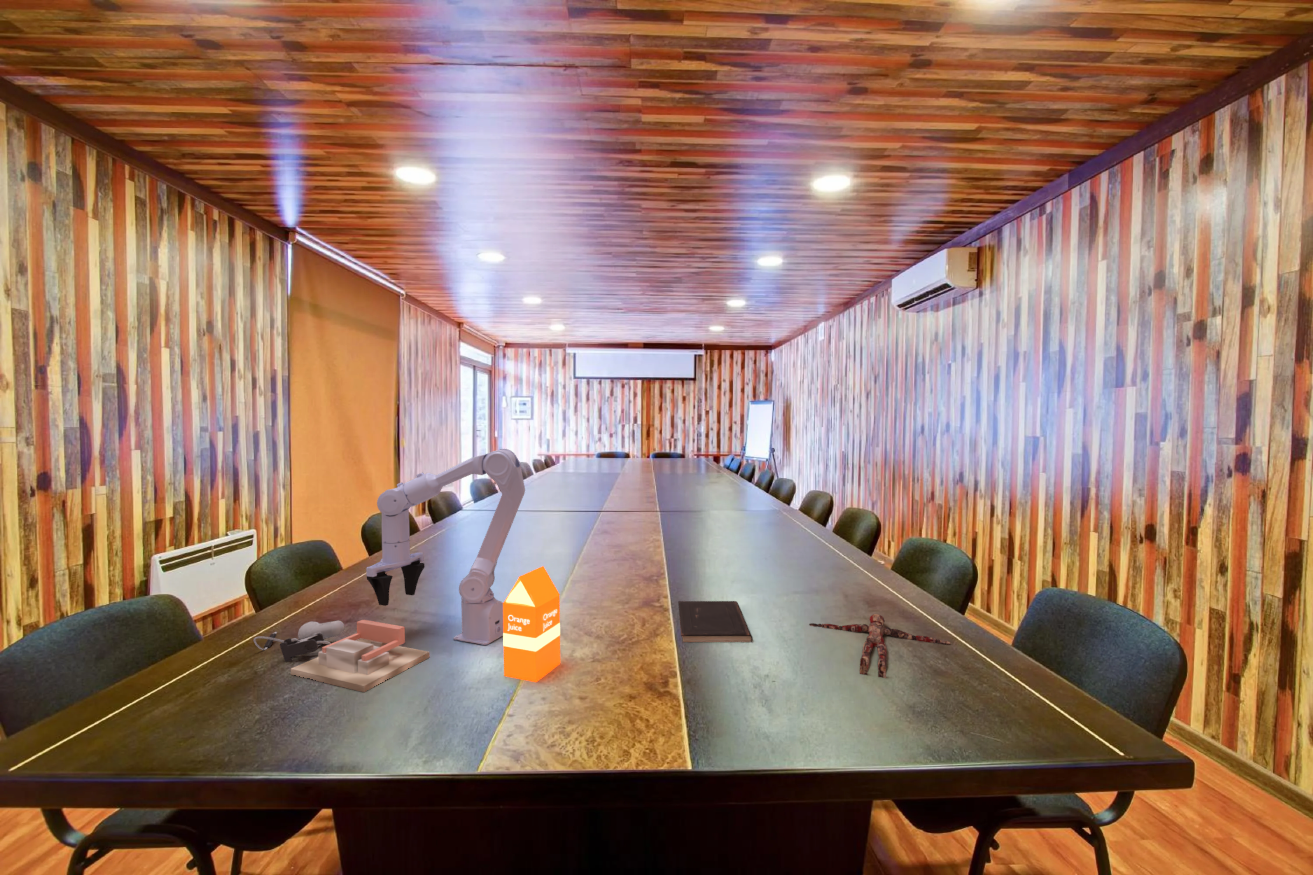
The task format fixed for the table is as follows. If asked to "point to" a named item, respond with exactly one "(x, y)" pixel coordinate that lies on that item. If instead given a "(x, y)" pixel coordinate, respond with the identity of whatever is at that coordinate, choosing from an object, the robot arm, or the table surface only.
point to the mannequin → (877, 640)
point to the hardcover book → (712, 622)
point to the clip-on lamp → (306, 638)
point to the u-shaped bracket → (376, 636)
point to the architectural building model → (358, 664)
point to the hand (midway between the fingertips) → (397, 599)
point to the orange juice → (531, 627)
